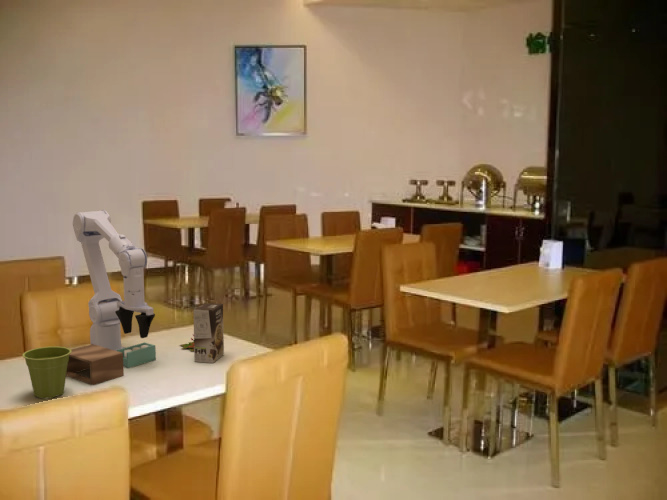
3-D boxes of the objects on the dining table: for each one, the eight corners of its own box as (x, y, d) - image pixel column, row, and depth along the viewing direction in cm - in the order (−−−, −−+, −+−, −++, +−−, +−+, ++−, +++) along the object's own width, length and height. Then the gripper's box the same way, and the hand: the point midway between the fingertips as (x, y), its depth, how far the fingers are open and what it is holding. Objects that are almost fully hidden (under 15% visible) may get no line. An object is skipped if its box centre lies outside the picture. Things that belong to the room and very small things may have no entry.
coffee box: (214, 363, 218) (213, 310, 216) (193, 362, 220) (192, 309, 217) (224, 354, 227) (223, 303, 225) (205, 353, 228) (203, 302, 226)
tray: (117, 364, 217) (117, 349, 216) (145, 356, 225) (144, 342, 224) (128, 368, 214) (127, 353, 213) (155, 359, 222) (155, 345, 221)
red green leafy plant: (172, 346, 237) (172, 333, 236) (206, 340, 244) (206, 327, 243) (188, 355, 227) (188, 341, 226) (223, 349, 234) (223, 335, 233)
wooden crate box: (63, 374, 208) (61, 352, 207) (93, 366, 215) (92, 344, 214) (93, 385, 199) (91, 361, 198) (123, 375, 207) (122, 352, 206)
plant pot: (78, 396, 191) (76, 354, 189) (30, 405, 184) (27, 362, 183) (67, 383, 200) (65, 343, 199) (21, 391, 194) (18, 350, 192)
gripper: (161, 291, 215) (162, 336, 217) (129, 284, 223) (131, 328, 225) (141, 295, 209) (143, 341, 211) (109, 288, 218) (111, 333, 220)
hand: (135, 335), depth 218 cm, fingers open, 7 cm apart
